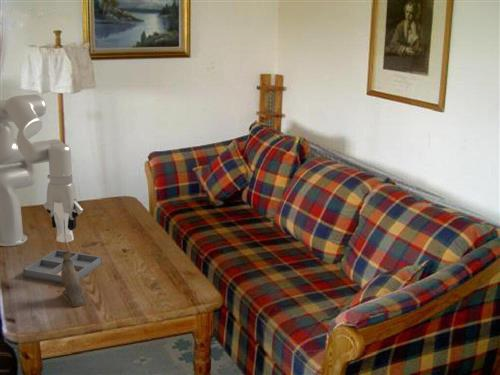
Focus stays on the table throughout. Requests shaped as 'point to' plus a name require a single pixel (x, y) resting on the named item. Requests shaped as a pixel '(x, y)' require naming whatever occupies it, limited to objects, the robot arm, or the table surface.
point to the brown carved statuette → (71, 283)
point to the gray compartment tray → (52, 266)
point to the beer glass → (62, 224)
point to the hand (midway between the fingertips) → (64, 227)
